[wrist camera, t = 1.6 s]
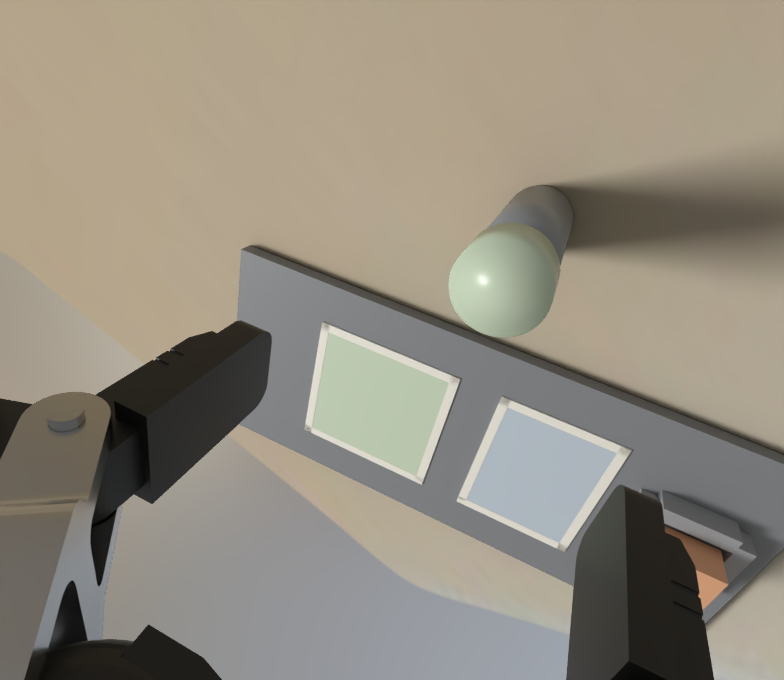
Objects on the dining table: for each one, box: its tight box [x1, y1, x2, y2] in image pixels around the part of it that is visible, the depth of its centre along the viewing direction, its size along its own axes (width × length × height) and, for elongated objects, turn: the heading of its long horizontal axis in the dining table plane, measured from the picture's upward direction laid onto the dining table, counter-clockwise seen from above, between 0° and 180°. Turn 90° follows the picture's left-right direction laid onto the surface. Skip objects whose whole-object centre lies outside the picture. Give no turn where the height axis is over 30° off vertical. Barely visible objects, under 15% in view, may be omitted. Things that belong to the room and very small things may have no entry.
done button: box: [665, 526, 728, 610], centre depth 30 cm, size 4×4×2 cm
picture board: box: [237, 246, 784, 623], centre depth 34 cm, size 38×16×3 cm, turn 77°
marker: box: [449, 185, 573, 338], centre depth 23 cm, size 4×4×11 cm
